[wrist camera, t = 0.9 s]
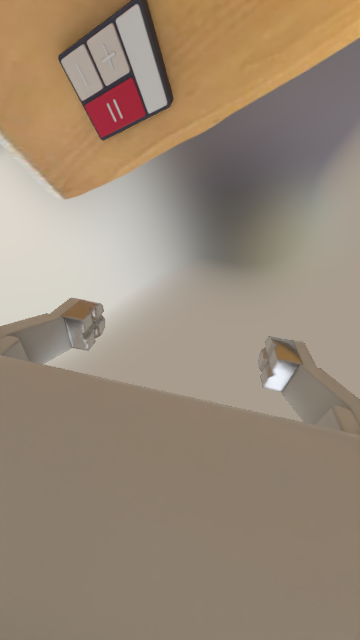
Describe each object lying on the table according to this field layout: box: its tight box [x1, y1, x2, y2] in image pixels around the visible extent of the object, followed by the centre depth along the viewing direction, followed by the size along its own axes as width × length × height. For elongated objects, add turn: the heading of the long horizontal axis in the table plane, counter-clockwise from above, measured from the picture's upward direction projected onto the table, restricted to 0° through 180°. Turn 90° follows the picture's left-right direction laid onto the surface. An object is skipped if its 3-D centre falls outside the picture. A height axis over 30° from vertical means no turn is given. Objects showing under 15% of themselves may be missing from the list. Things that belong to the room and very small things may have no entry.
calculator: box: [58, 0, 173, 140], centre depth 35 cm, size 11×4×15 cm
